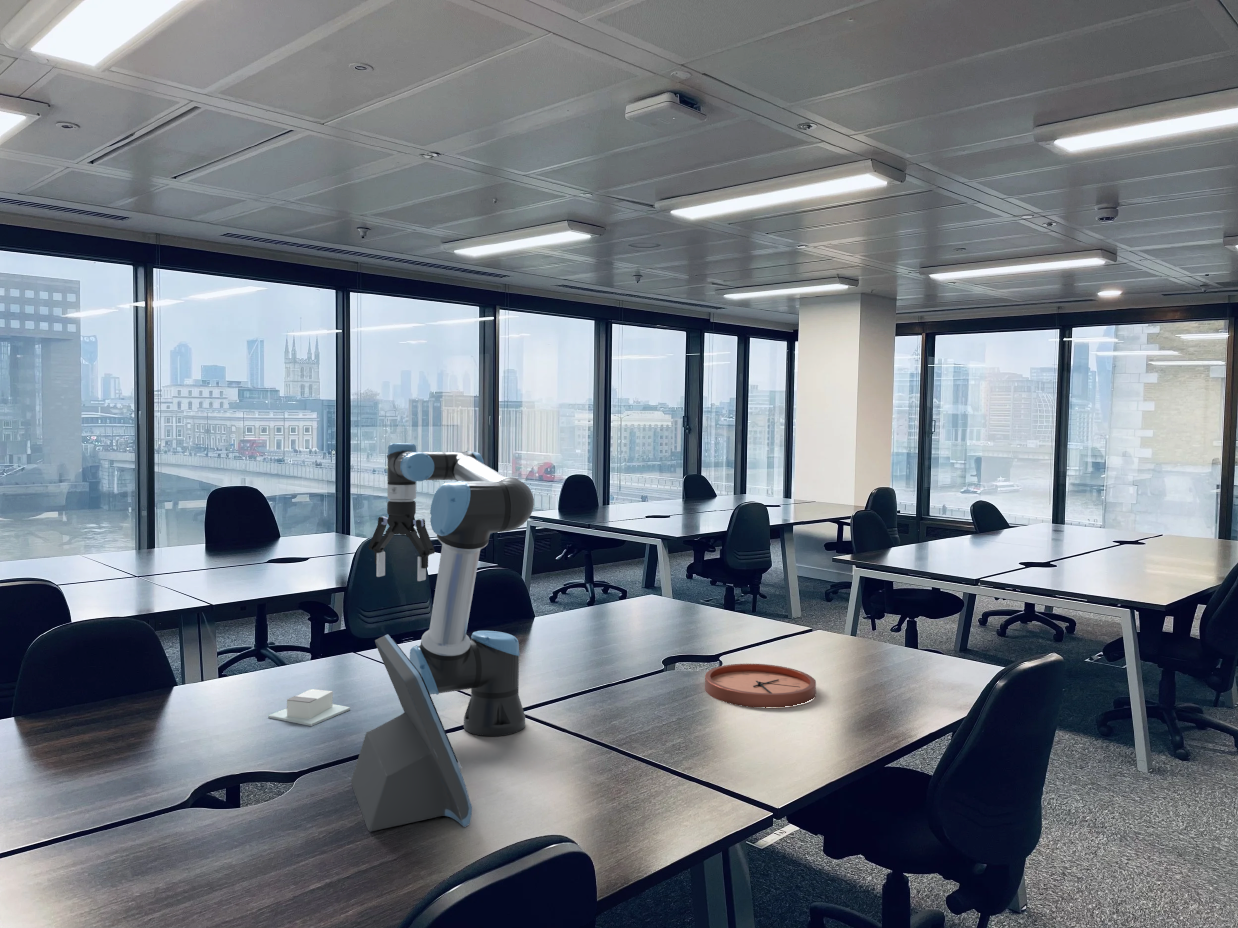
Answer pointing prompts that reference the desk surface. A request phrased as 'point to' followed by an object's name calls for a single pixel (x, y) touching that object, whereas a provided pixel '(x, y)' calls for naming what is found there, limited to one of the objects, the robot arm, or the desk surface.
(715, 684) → the clock
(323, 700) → the card deck box
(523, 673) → the desk surface
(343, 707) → the mat
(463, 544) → the robot arm
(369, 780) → the touchscreen device
